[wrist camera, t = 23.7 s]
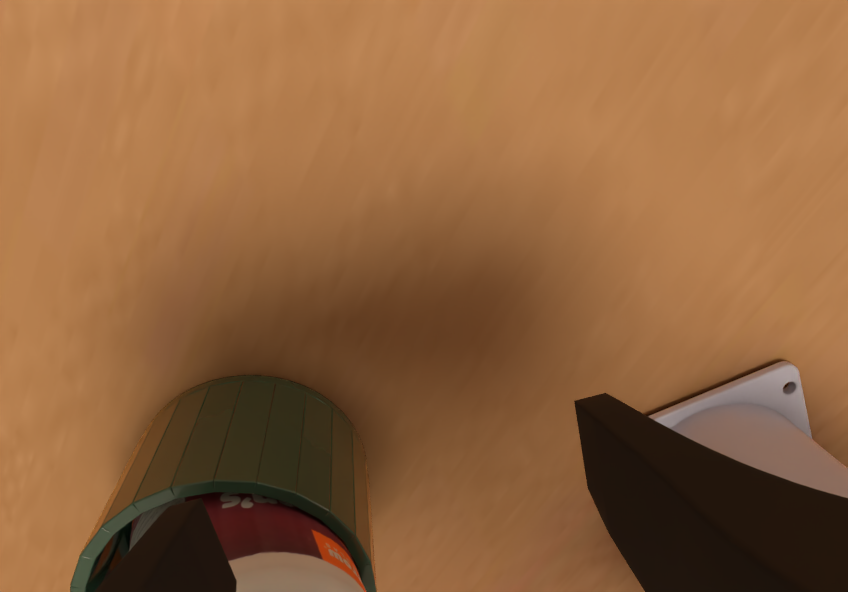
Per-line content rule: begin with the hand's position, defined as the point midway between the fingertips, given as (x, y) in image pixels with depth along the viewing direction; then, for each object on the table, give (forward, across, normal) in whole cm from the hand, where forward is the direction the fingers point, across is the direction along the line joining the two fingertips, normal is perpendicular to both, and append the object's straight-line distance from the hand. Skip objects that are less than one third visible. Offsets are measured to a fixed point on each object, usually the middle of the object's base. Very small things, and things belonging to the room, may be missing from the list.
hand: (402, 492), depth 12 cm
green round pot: (+10, +6, +6) cm, 13 cm away
